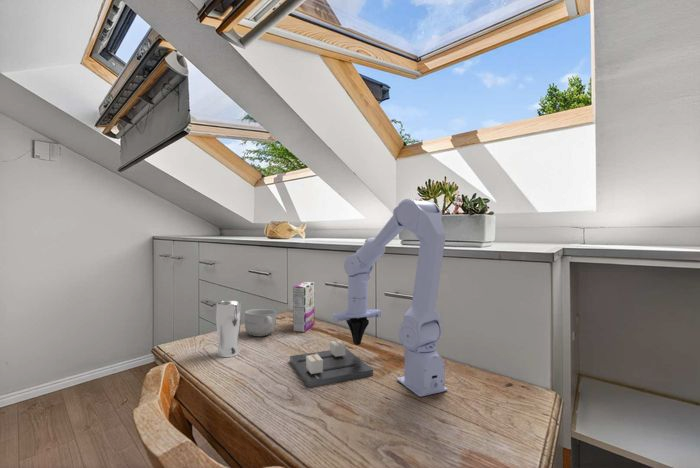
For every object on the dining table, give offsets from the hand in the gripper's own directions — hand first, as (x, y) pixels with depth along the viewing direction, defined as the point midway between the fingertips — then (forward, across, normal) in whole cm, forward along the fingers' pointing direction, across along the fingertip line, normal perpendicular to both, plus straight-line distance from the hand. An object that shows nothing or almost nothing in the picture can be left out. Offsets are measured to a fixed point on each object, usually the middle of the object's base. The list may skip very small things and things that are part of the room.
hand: (356, 343), depth 97 cm
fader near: (+2, +16, +8) cm, 18 cm away
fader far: (+2, +6, 0) cm, 6 cm away
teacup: (+4, +22, -31) cm, 38 cm away
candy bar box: (+4, +6, -34) cm, 35 cm away
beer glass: (+4, +34, -17) cm, 38 cm away
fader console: (+4, +10, +4) cm, 11 cm away
